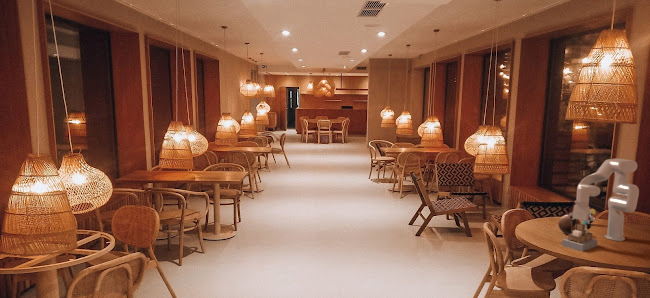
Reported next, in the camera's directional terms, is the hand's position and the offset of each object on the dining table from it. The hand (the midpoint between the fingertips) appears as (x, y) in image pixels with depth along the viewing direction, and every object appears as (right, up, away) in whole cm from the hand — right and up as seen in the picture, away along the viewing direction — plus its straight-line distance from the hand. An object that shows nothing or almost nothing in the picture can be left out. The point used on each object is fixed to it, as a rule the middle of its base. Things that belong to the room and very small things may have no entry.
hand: (581, 227), depth 298 cm
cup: (+35, -8, +52) cm, 63 cm away
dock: (0, -14, +1) cm, 14 cm away
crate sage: (+4, -6, +3) cm, 8 cm away
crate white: (-4, -6, -2) cm, 8 cm away
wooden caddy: (0, -9, +1) cm, 9 cm away
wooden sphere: (+7, -11, +27) cm, 30 cm away
